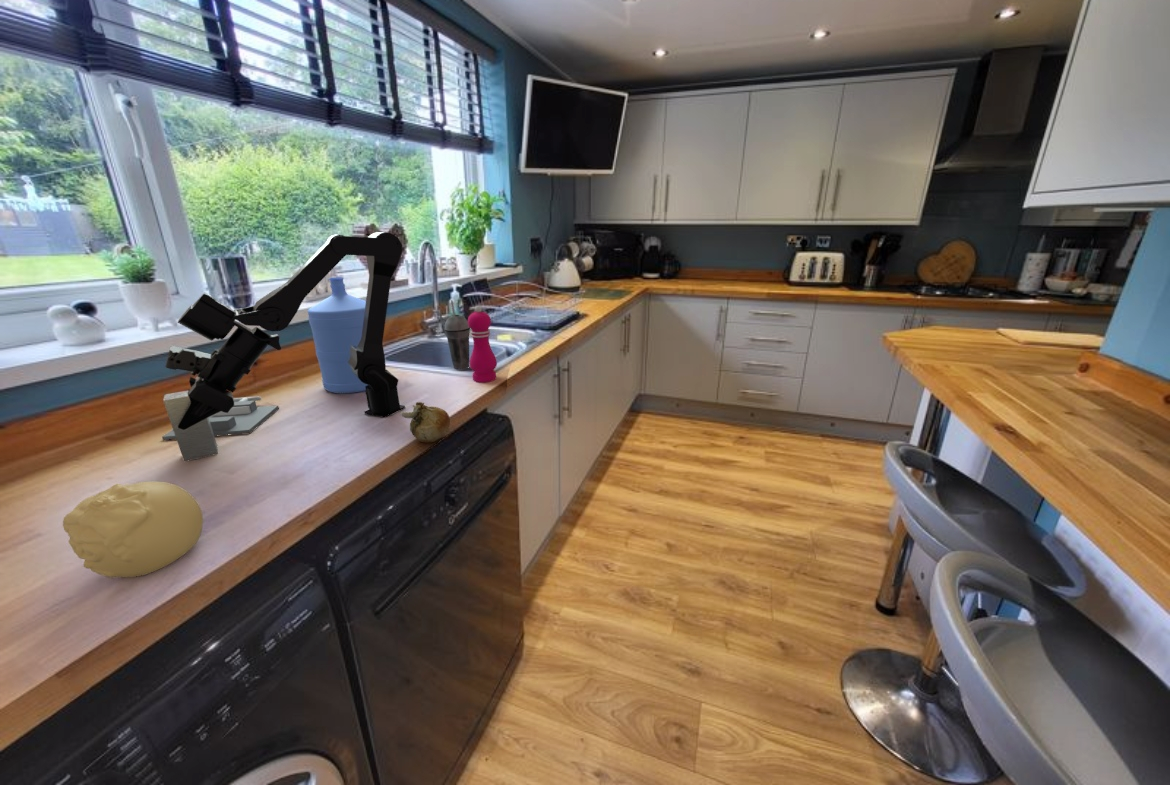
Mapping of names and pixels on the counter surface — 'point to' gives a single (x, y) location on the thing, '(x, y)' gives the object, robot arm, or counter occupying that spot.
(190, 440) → the steel block
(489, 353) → the pepper mill
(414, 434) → the onion
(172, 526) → the sculpture
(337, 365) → the water jug
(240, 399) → the stepped grey baseplate
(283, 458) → the counter surface
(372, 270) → the robot arm
